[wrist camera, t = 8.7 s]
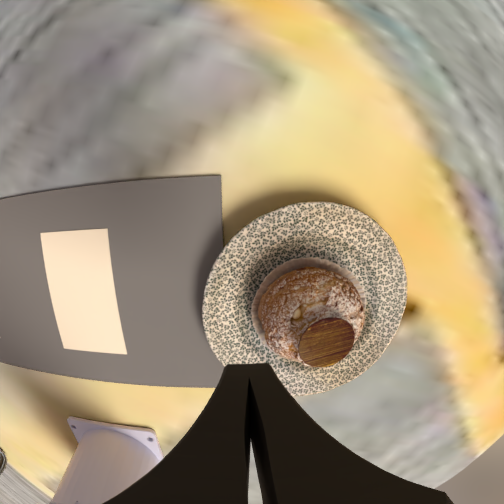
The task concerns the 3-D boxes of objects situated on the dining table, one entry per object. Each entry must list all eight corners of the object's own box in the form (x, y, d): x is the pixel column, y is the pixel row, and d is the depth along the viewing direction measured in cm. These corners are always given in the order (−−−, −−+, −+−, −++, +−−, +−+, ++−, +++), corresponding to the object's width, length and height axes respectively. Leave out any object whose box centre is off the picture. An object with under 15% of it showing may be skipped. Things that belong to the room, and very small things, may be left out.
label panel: (230, 384, 19) (230, 387, 18) (-35, 350, 17) (-37, 351, 17) (221, 175, 16) (220, 175, 15) (-65, 214, 14) (-68, 214, 14)
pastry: (295, 154, 15) (320, 144, 11) (428, 283, 18) (471, 308, 13) (164, 322, 17) (144, 365, 12) (311, 410, 19) (327, 456, 15)
